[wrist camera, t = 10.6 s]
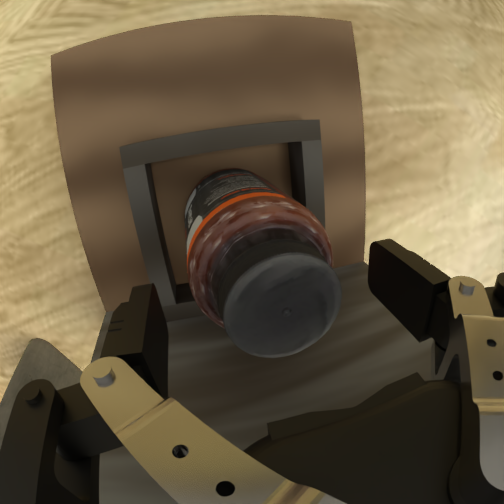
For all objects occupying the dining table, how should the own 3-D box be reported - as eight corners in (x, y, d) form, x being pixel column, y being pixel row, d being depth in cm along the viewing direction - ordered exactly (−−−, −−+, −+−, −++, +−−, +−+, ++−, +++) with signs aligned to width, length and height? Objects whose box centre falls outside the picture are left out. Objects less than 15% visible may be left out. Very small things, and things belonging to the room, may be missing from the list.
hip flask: (22, 344, 21) (-44, 539, 3) (48, 330, 21) (-21, 553, 3) (125, 439, 28) (130, 598, 10) (153, 431, 28) (168, 601, 10)
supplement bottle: (164, 210, 19) (145, 313, 8) (237, 146, 18) (308, 172, 8) (226, 272, 21) (267, 400, 11) (293, 216, 21) (392, 304, 10)
